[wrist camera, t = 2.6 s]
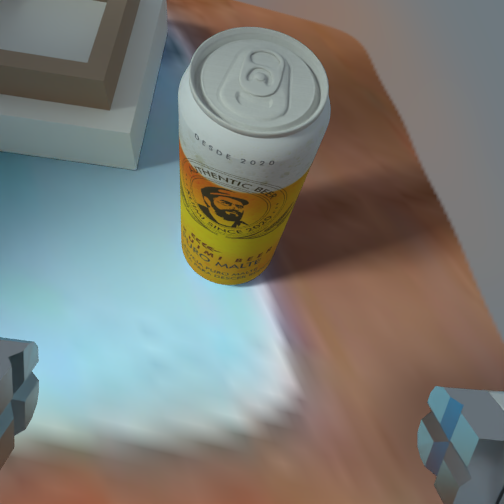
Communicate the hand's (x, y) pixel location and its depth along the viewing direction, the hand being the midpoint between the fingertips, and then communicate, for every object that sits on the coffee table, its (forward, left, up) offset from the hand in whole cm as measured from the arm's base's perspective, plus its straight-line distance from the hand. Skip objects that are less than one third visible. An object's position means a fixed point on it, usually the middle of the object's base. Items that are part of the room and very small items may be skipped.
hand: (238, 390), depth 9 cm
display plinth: (-14, +24, -18) cm, 33 cm away
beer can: (0, +12, -18) cm, 22 cm away
